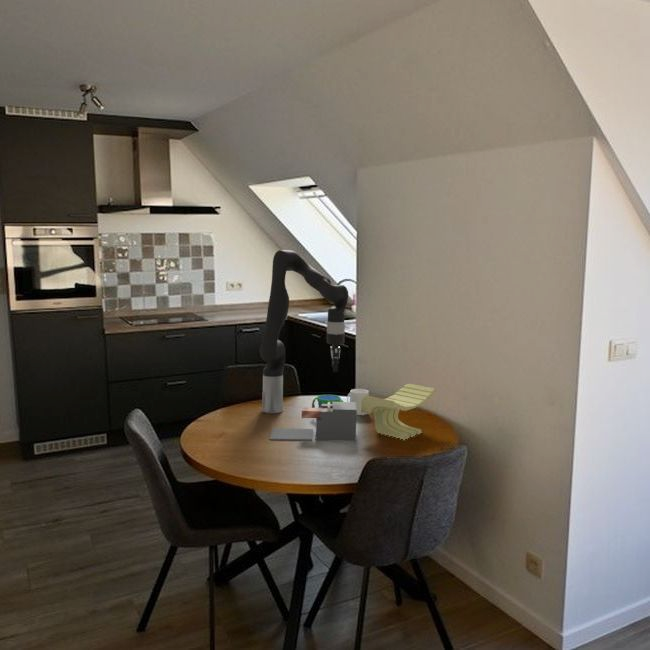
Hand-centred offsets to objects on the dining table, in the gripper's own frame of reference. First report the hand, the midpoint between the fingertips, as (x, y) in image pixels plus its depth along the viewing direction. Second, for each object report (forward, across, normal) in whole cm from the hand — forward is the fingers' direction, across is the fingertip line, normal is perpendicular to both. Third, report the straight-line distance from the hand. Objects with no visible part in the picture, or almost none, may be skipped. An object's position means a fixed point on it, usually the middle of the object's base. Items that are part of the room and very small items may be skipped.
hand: (335, 369), depth 273 cm
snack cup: (+25, -10, -2) cm, 27 cm away
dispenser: (+25, +14, 0) cm, 29 cm away
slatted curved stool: (+25, +9, +26) cm, 37 cm away
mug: (+25, -21, +11) cm, 35 cm away
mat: (+25, +14, -18) cm, 34 cm away
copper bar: (+17, +14, -6) cm, 23 cm away
